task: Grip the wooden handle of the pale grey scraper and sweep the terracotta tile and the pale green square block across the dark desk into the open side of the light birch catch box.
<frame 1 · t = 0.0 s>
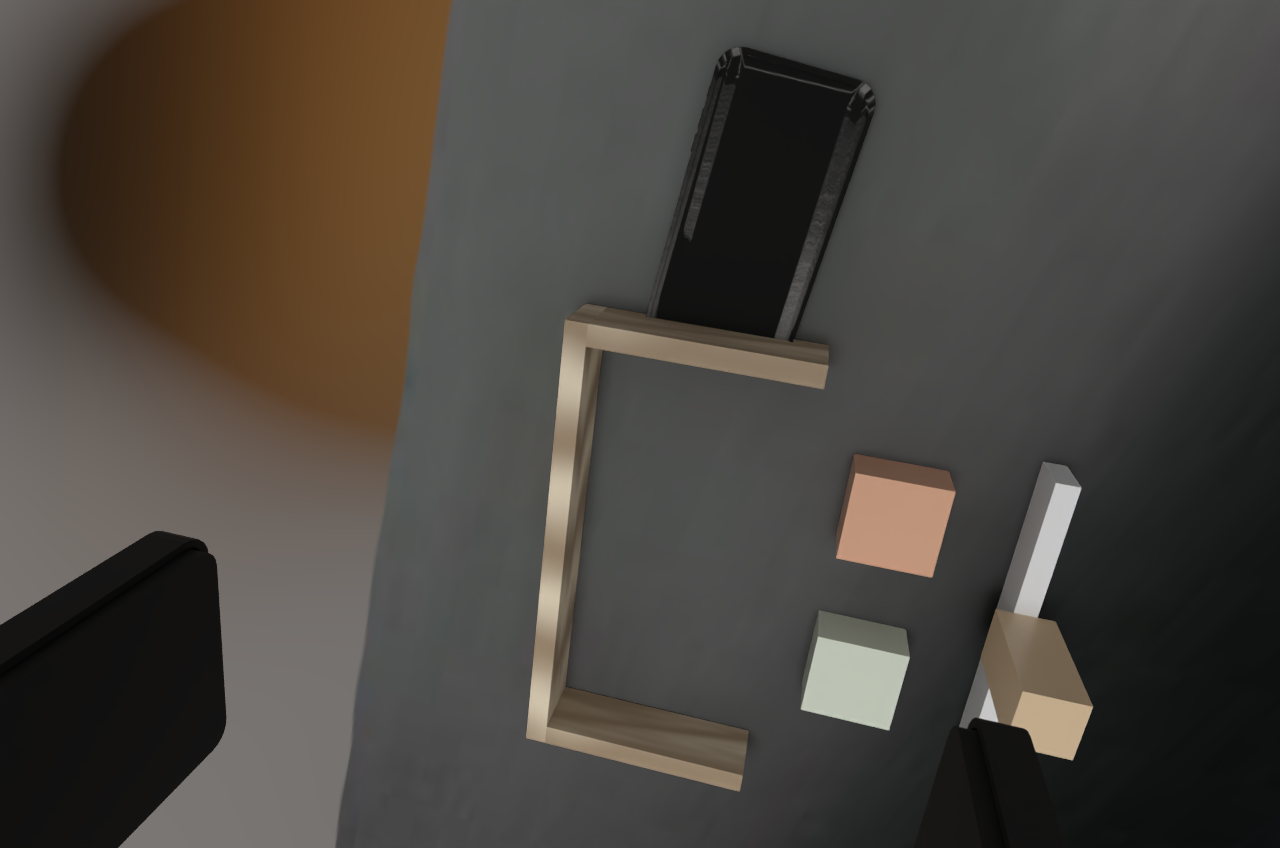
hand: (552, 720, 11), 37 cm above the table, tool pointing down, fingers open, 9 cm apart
phone: (753, 217, 45), on the table
catch box: (681, 543, 51), on the table
pale green square block: (852, 653, 51), on the table
terracotta tile: (890, 502, 48), on the table
scraper: (1006, 609, 48), on the table
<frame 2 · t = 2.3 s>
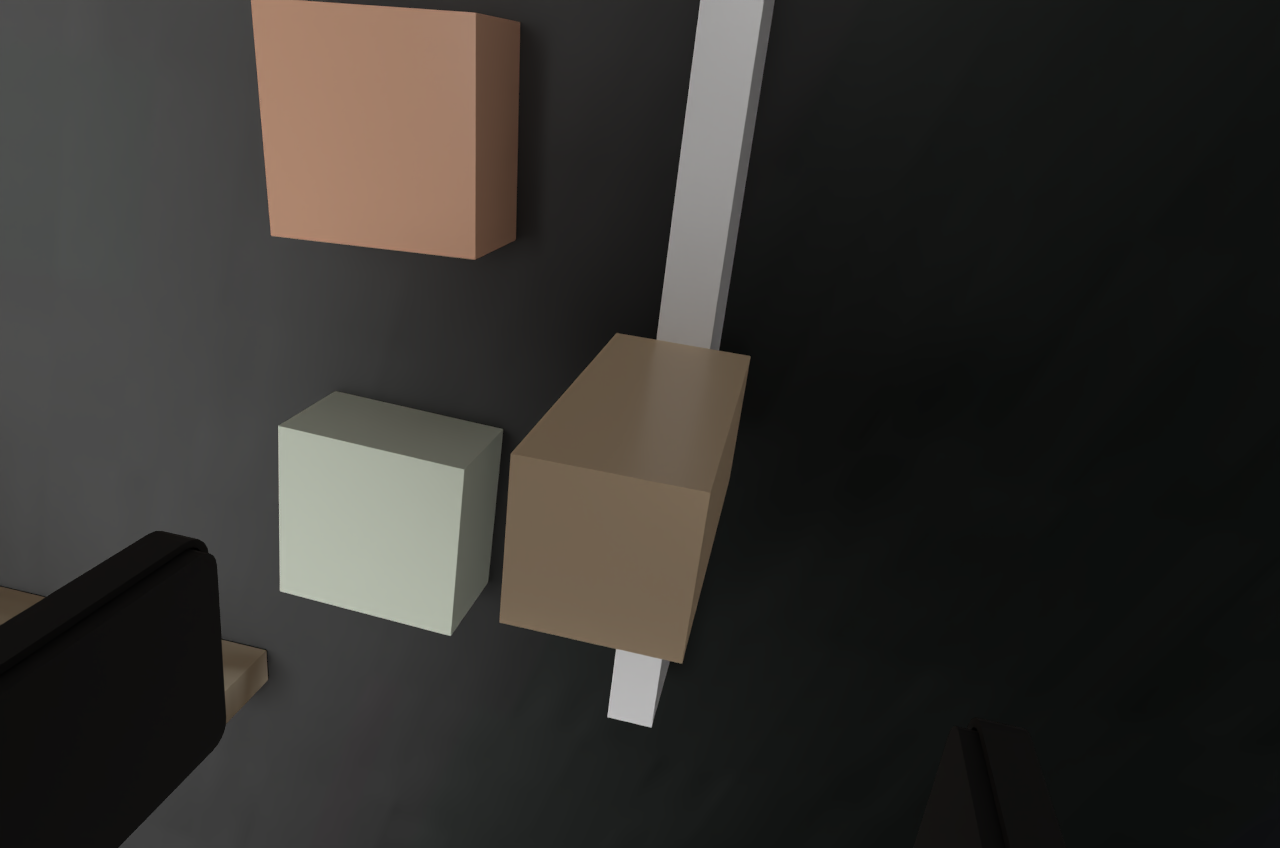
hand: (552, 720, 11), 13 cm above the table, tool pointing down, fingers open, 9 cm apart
catch box: (55, 259, 25), on the table
pale green square block: (417, 485, 25), on the table
terracotta tile: (424, 126, 22), on the table
scraper: (693, 368, 22), on the table
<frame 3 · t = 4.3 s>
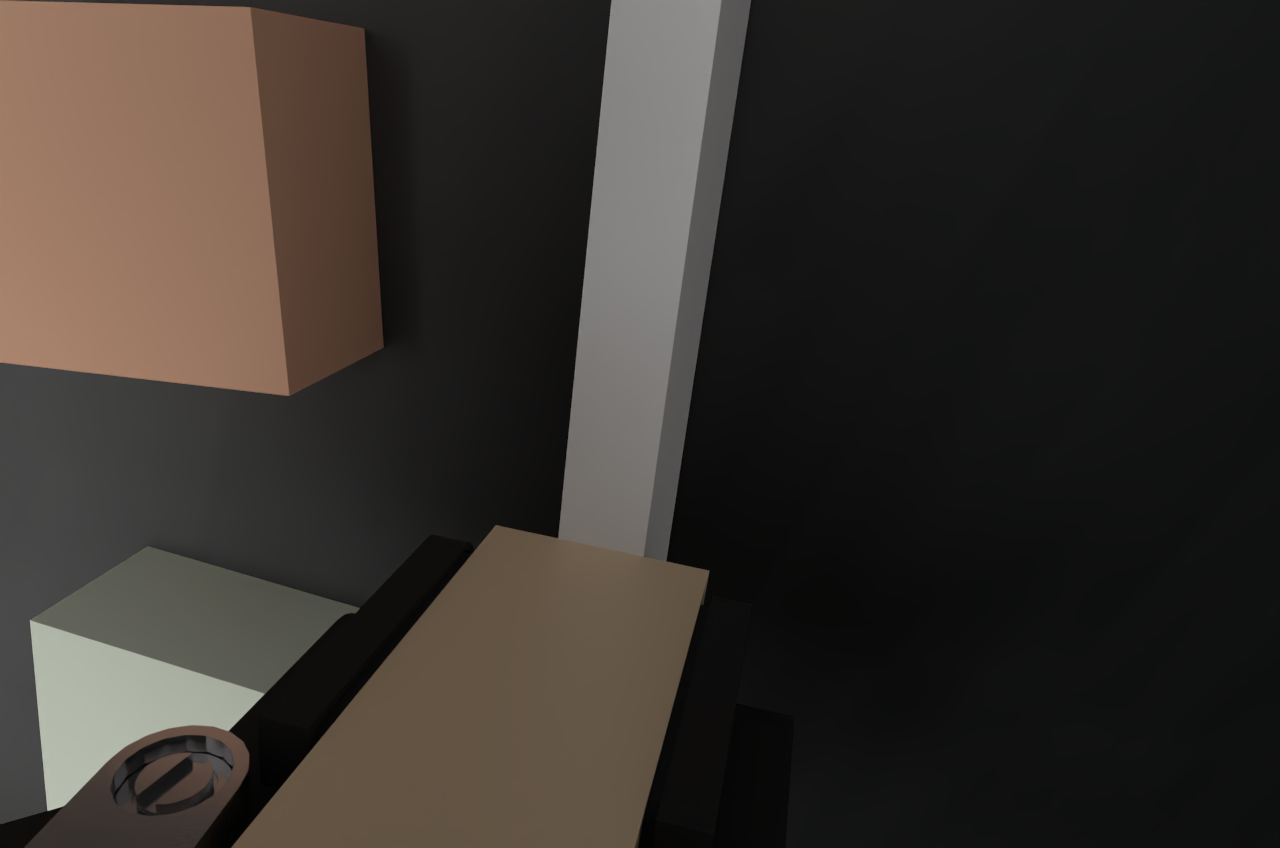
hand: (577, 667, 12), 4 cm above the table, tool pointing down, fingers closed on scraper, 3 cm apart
pale green square block: (264, 674, 18), on the table
terracotta tile: (244, 187, 15), on the table
scraper: (634, 543, 15), on the table, touching gripper
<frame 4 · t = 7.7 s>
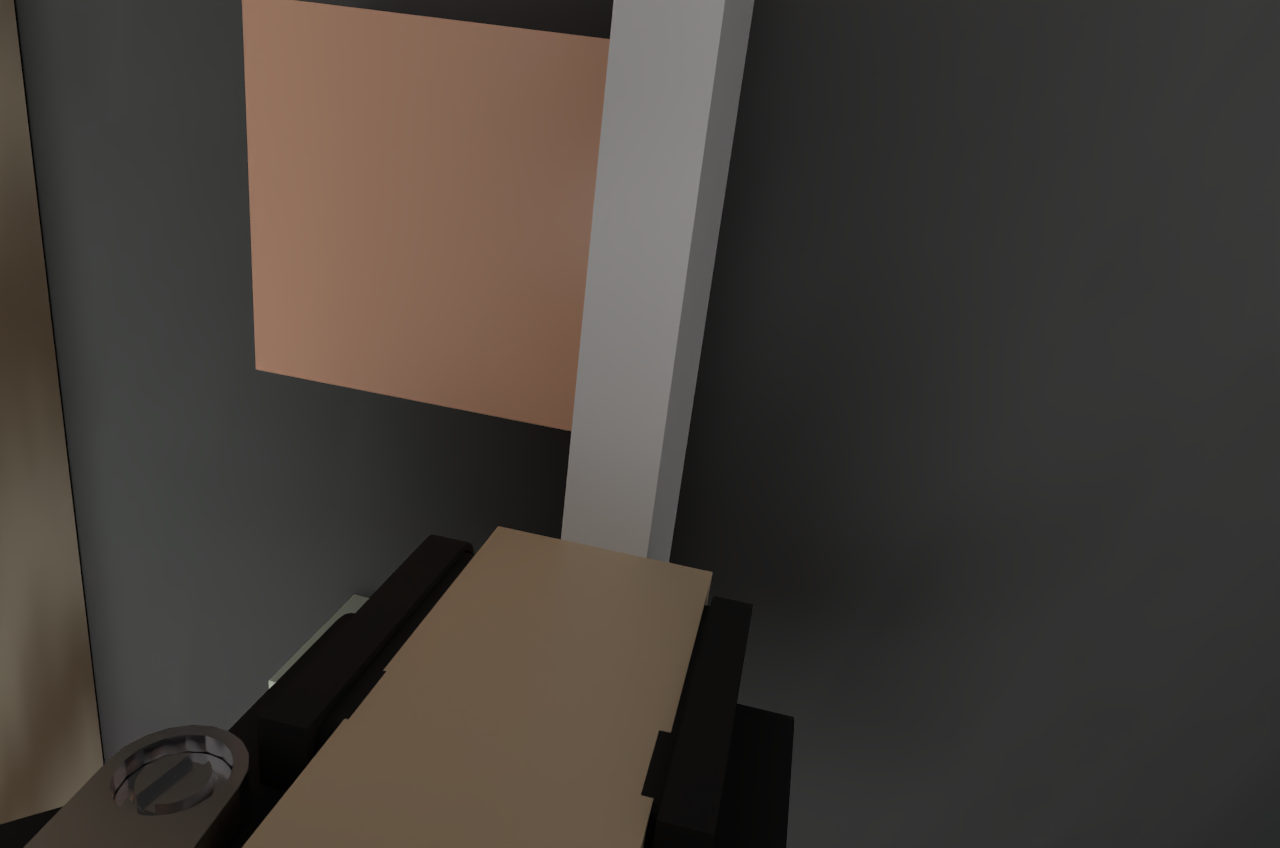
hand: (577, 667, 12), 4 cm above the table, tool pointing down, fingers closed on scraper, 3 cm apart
catch box: (338, 467, 16), on the table
pale green square block: (468, 719, 18), on the table, touching scraper
terracotta tile: (500, 202, 14), on the table
scraper: (637, 542, 15), point 1 cm above the table, touching gripper, pale green square block
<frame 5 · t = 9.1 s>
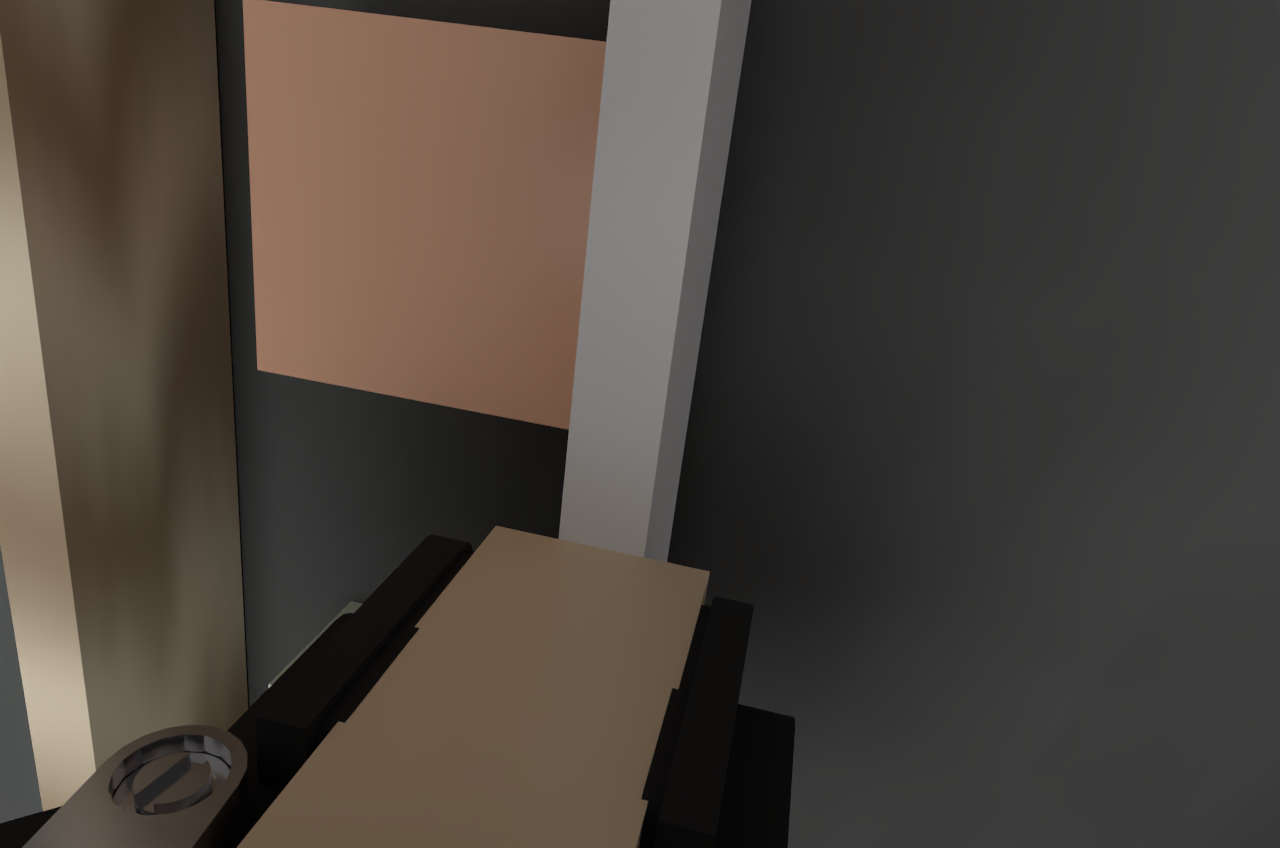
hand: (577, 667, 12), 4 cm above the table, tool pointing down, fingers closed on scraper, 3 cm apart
catch box: (532, 513, 16), on the table
pale green square block: (466, 723, 18), on the table
terracotta tile: (499, 203, 14), on the table
scraper: (635, 542, 15), on the table, touching gripper
when the fingers open (4 cm above the table, at t = 10.0 s): scraper stays where it is, on the table.
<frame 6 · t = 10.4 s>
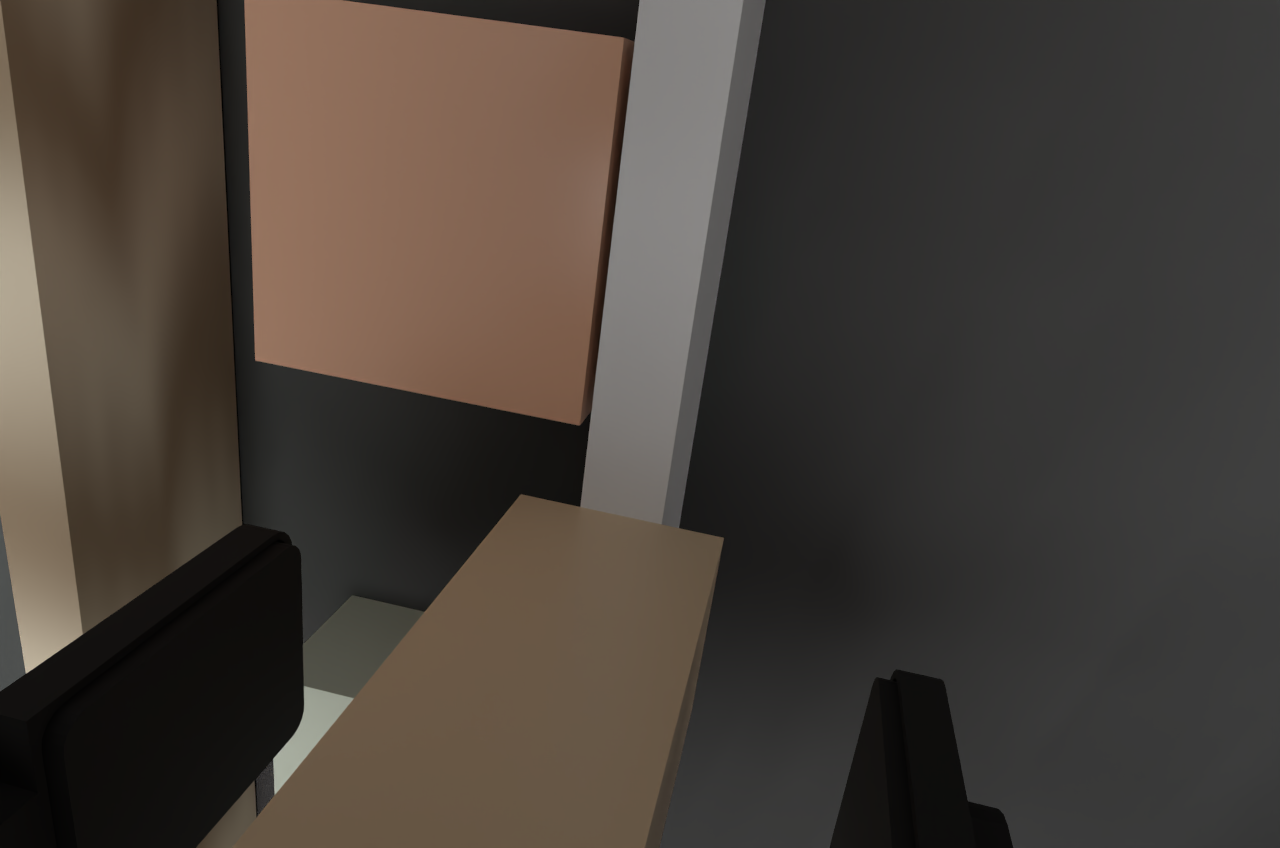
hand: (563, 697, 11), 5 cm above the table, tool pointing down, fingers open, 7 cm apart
catch box: (534, 507, 16), on the table
pale green square block: (467, 717, 18), on the table
terracotta tile: (498, 196, 14), on the table
scraper: (647, 518, 16), on the table
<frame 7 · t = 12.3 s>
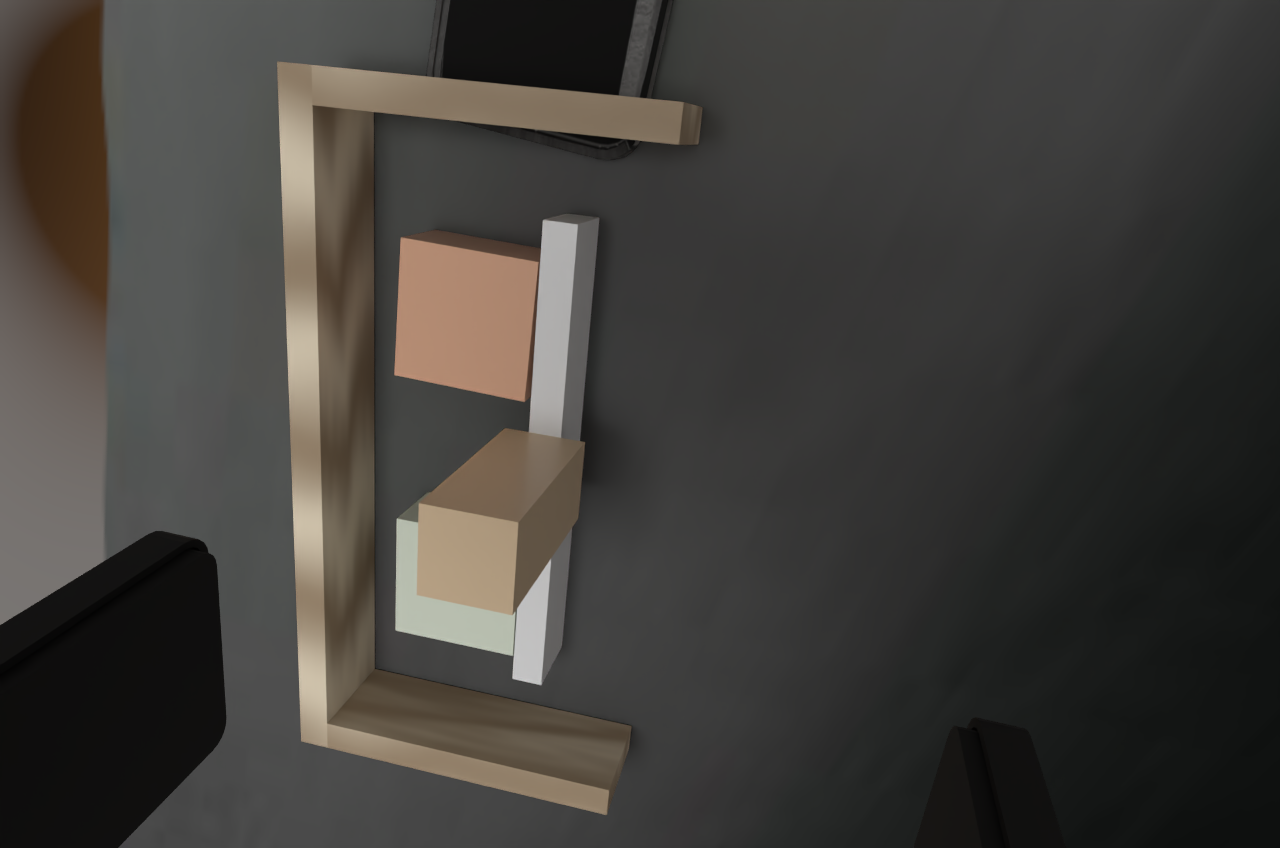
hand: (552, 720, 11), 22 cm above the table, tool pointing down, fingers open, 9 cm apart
catch box: (513, 443, 35), on the table
pale green square block: (484, 554, 37), on the table
terracotta tile: (494, 305, 33), on the table
scraper: (565, 446, 34), on the table
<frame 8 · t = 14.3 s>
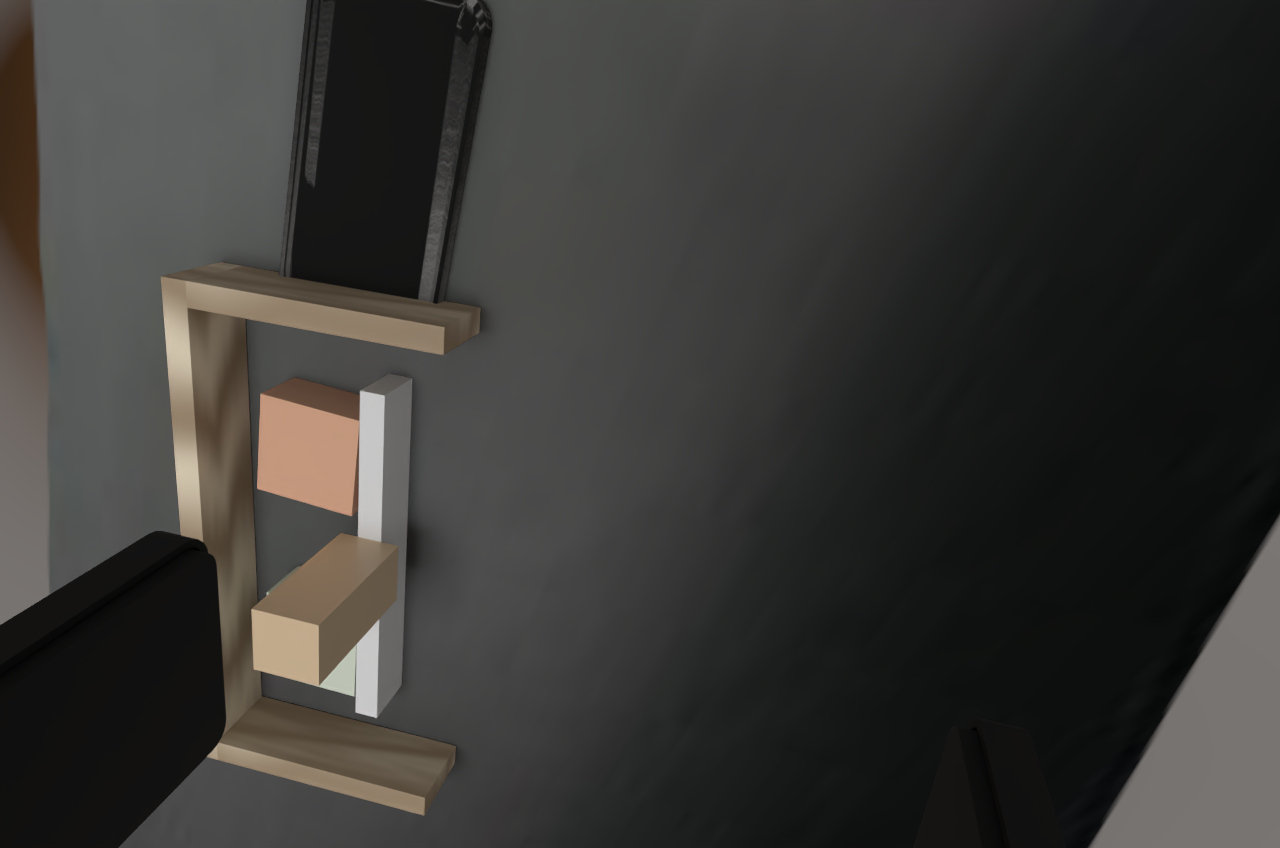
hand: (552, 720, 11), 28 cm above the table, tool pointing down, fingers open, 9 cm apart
phone: (387, 159, 39), on the table
catch box: (358, 535, 45), on the table
pale green square block: (341, 614, 48), on the table
terracotta tile: (340, 434, 44), on the table
scraper: (397, 538, 45), on the table
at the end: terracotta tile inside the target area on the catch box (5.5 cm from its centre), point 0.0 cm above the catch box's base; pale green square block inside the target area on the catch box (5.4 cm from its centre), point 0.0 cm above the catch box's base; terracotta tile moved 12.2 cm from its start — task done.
